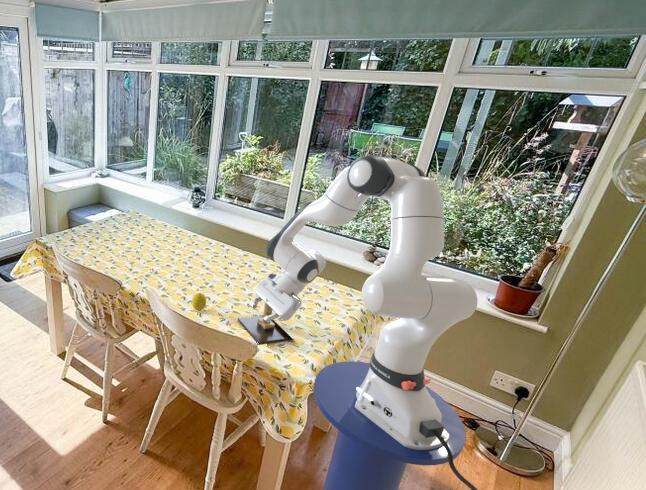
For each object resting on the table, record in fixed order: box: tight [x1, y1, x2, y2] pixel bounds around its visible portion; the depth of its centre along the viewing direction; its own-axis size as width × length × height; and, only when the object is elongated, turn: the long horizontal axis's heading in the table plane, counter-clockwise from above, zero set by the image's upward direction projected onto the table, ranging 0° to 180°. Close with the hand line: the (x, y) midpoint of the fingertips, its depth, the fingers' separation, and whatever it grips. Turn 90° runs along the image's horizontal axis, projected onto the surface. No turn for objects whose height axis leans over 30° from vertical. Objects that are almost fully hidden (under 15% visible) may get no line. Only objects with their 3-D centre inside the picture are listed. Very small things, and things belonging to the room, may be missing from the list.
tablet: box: [237, 314, 295, 346], centre depth 153 cm, size 16×20×1 cm
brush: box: [257, 299, 275, 332], centre depth 150 cm, size 5×4×12 cm
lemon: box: [191, 292, 207, 311], centre depth 162 cm, size 6×6×8 cm
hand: (258, 313), depth 149 cm, fingers open, 8 cm apart
